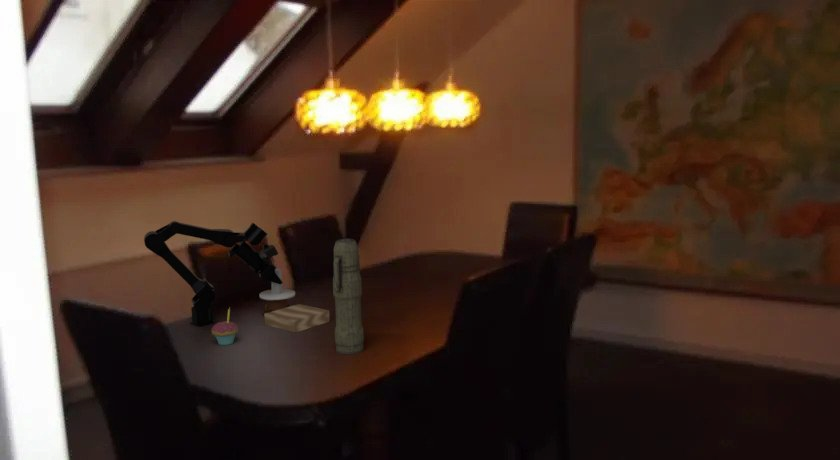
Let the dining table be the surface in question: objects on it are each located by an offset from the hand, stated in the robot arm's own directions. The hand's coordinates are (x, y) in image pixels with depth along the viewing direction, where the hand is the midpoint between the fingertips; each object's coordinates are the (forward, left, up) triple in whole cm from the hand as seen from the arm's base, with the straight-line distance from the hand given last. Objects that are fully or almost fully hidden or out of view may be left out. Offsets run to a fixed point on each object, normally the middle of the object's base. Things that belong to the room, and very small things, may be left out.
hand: (280, 282), depth 274 cm
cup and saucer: (-1, +1, -12) cm, 12 cm away
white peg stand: (-1, +1, -5) cm, 5 cm away
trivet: (-5, -14, -12) cm, 19 cm away
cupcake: (-34, -12, -12) cm, 38 cm away
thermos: (-15, -50, -12) cm, 54 cm away
